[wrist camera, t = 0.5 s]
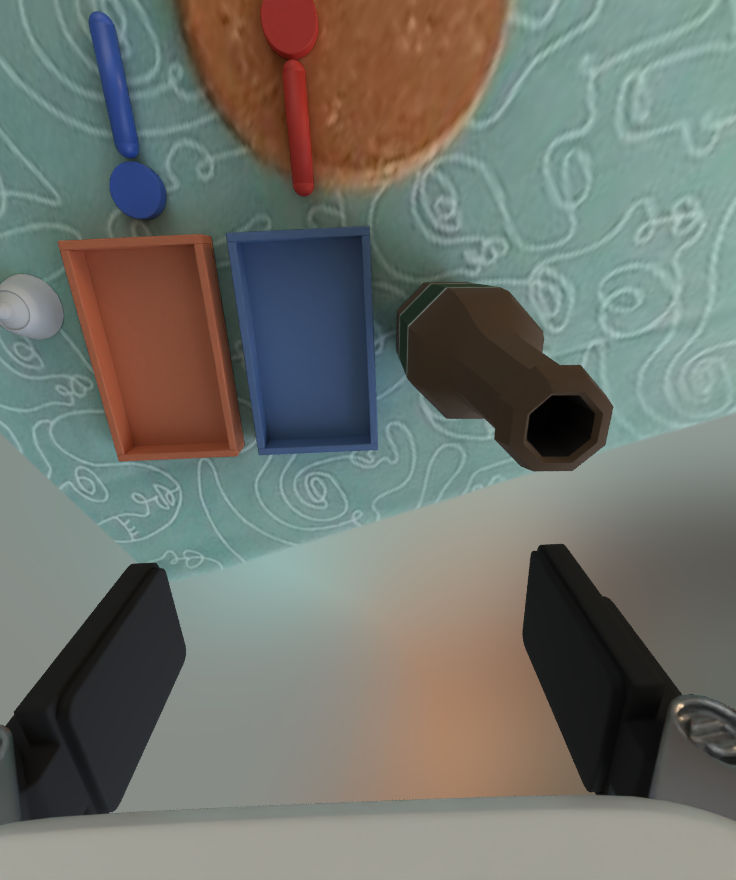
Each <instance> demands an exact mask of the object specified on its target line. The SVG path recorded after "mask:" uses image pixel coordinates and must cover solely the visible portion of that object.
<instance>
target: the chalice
mask: <svg viewBox="0 0 736 880" xmlns="http://www.w3.org/2000/svg"><path fill="white" fill-rule="evenodd" d="M63 317H64V314H63V307H62V304H61V302H60V300H59V297H58V295H57V294H56V293H55V292H54V290H53V289H52V288H51V287H50V286H49V285H48V284H46V283H45V282H44V281H42V280H41V279H39V278H37V277H34V276H32V275H26V274H17V275H13V276H10V277H9V278H7V279H6V280H5V281H3V283H1V284H0V326H1V327H3V328H4V329H6V330H7V331H9V332H12V333H15V334H19V335H21V336H25V337H28V338H30V339H38V340H43V339H47V338H50V337H52V336H53V335H55V334H56V333H57V332H58V331H59V329H60V328H61V326H62V323H63Z"/></svg>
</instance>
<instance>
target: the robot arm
mask: <svg viewBox="0 0 736 880" xmlns="http://www.w3.org/2000/svg"><path fill="white" fill-rule="evenodd" d="M523 642H524V646H525V648H526V651H527V653H528V655H529V658H530V660H531V662H532V665H533V667H534V670H535V672H536V674H537V677H538V679H539V681H540V684H541V686H542V688H543V691H544V693H545V695H546V698H547V700H548V702H549V704H550V707H551V709H552V712H553V714H554V716H555V719H556V721H557V723H558V725H559V728H560V731H561V732H562V735H563V738H564V740H565V742H566V745H567V747H568V749H569V752H570V754H571V756H572V759H573V761H574V763H575V765H576V768H577V770H578V773H579V775H580V777H581V780H582V782H583V784H584V786H585V788H586V789H587V791H589V792H595V793H596V795H559V796H558V795H553V796H552V795H551V796H506V797H505V796H504V797H475V798H447V799H419V800H392V801H366V802H341V803H316V804H295V805H294V804H293V805H269V806H246V807H225V808H204V809H183V810H164V811H141V812H125V813H109V812H113V811H115V810H116V809H117V807H118V806H119V804H120V802H121V800H122V798H123V796H124V793H125V791H126V789H127V787H128V785H129V782H130V780H131V778H132V776H133V774H134V771H135V769H136V767H137V765H138V763H139V760H140V758H141V756H142V754H143V751H144V749H145V747H146V745H147V743H148V740H149V738H150V736H151V734H152V732H153V730H154V727H155V725H156V723H157V721H158V719H159V716H160V714H161V712H162V710H163V708H164V705H165V703H166V701H167V699H168V697H169V695H170V692H171V690H172V688H173V686H174V684H175V681H176V679H177V677H178V675H179V672H180V670H181V668H182V666H183V663H184V661H185V657H186V646H185V642H184V638H183V635H182V631H181V627H180V624H179V620H178V616H177V612H176V609H175V605H174V601H173V598H172V593H171V590H170V586H169V582H168V578H167V574H166V571H165V570H164V569H163V568H159V566H158V565H157V563H138V564H131V565H130V566H129V567H128V568H127V569H126V570H125V571H124V573H123V574H122V575H121V577H120V578H119V579H118V580H117V582H116V583H115V584H114V586H113V587H112V588H111V589H110V590H109V592H108V593H107V594H106V596H105V597H104V598H103V599H102V601H101V602H100V603H99V604H98V606H97V607H96V608H95V609H94V611H93V612H92V613H91V615H90V616H89V617H88V619H87V620H86V621H85V622H84V624H83V625H82V626H81V627H80V629H79V630H78V631H77V633H76V634H75V635H74V636H73V638H72V639H71V640H70V641H69V643H68V644H67V645H66V646H65V648H64V649H63V650H62V651H61V653H60V654H59V655H58V657H57V658H56V659H55V660H54V662H53V663H52V664H51V665H50V667H49V668H48V669H47V670H46V672H45V673H44V674H43V675H42V677H41V678H40V680H39V681H38V682H37V683H36V684H35V686H34V687H33V688H32V689H31V691H30V692H29V693H28V694H27V696H26V697H25V698H24V700H23V701H22V702H21V703H20V705H19V706H18V707H17V708H16V710H15V711H14V716H13V717H12V718H11V720H10V721H9V722H8V723H7V725H6V726H3V725H0V880H736V710H735V709H733V708H730V707H729V706H727V705H725V704H724V703H721V702H719V701H717V700H714V699H711V698H709V697H706V696H701V695H694V694H688V695H682V694H681V692H680V691H679V690H678V689H677V687H676V686H675V685H674V683H673V682H672V680H671V679H670V678H669V676H668V675H667V674H666V672H665V671H664V670H663V668H662V667H661V666H660V664H659V663H658V662H657V660H656V659H655V658H654V656H653V655H652V654H651V653H650V651H649V650H648V648H647V647H646V646H645V644H644V643H643V642H642V640H641V639H640V638H639V636H638V635H637V634H636V632H635V631H634V630H633V628H632V627H631V626H630V624H629V623H628V622H627V620H626V619H625V618H624V616H623V615H622V614H621V612H620V611H619V610H618V608H617V607H616V606H615V604H614V603H613V602H612V601H611V600H610V599H609V598H607V597H605V596H604V597H602V595H601V594H600V593H599V591H598V590H597V589H596V587H595V586H594V584H593V583H592V582H591V580H590V579H589V577H588V576H587V575H586V573H585V572H584V571H583V570H582V568H581V566H580V565H579V564H578V562H577V561H576V560H575V558H574V557H573V556H572V554H571V553H570V551H569V550H568V549H567V547H566V546H565V545H564V544H550V545H540V546H539V547H538V549H537V551H532V553H531V558H530V567H529V576H528V585H527V594H526V604H525V613H524V623H523Z"/></svg>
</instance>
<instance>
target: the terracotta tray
mask: <svg viewBox="0 0 736 880" xmlns="http://www.w3.org/2000/svg"><path fill="white" fill-rule="evenodd" d="M58 245H59V249H60V253H61V256H62V260H63V263H64V267H65V270H66V274H67V278H68V281H69V285H70V288H71V292H72V295H73V299H74V303H75V306H76V310H77V313H78V317H79V320H80V324H81V328H82V331H83V335H84V338H85V342H86V345H87V349H88V353H89V356H90V360H91V363H92V367H93V370H94V374H95V378H96V381H97V385H98V388H99V392H100V395H101V399H102V403H103V406H104V410H105V413H106V417H107V420H108V424H109V428H110V431H111V435H112V438H113V442H114V445H115V449H116V453H117V457H118V460H119V461H139V460H161V459H184V458H206V457H229V456H238V455H239V453H240V452H241V450H242V449H243V447H244V445H245V443H244V437H243V431H242V425H241V419H240V412H239V406H238V400H237V394H236V387H235V381H234V375H233V369H232V362H231V356H230V350H229V344H228V337H227V331H226V325H225V319H224V313H223V306H222V300H221V294H220V288H219V281H218V275H217V269H216V263H215V256H214V250H213V244H212V238H211V236H206V235H201V234H191V235H171V236H150V237H129V238H108V239H87V240H66V241H58Z"/></svg>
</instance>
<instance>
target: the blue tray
mask: <svg viewBox="0 0 736 880" xmlns="http://www.w3.org/2000/svg"><path fill="white" fill-rule="evenodd" d="M226 238H227V245H228V251H229V258H230V265H231V271H232V278H233V285H234V292H235V298H236V305H237V312H238V319H239V325H240V332H241V339H242V345H243V352H244V359H245V366H246V372H247V379H248V386H249V392H250V399H251V406H252V413H253V419H254V426H255V433H256V439H257V446H258V453H259V455H272V454H295V453H317V452H340V451H362V450H378V432H377V406H376V380H375V354H374V328H373V302H372V276H371V250H370V227H369V226H358V227H337V228H316V229H296V230H275V231H254V232H233V233H226Z"/></svg>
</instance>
